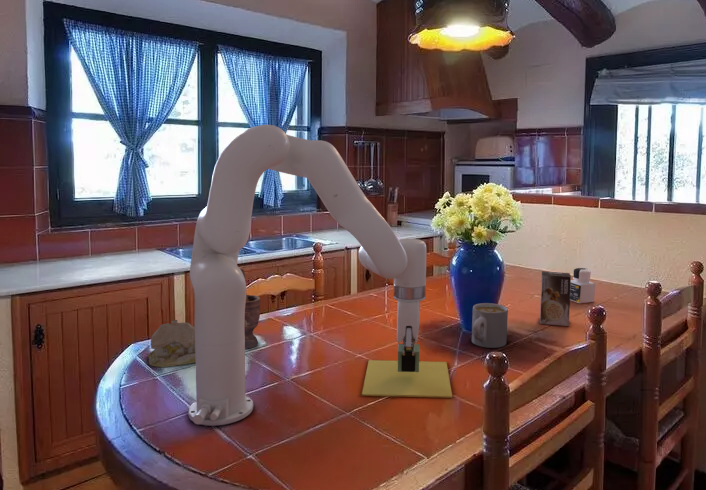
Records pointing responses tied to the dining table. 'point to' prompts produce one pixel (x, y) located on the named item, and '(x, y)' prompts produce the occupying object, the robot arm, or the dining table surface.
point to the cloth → (407, 380)
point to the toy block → (400, 352)
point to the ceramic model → (173, 345)
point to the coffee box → (555, 298)
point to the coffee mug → (489, 325)
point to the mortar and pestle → (251, 318)
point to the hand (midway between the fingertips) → (408, 365)
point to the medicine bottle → (582, 286)
